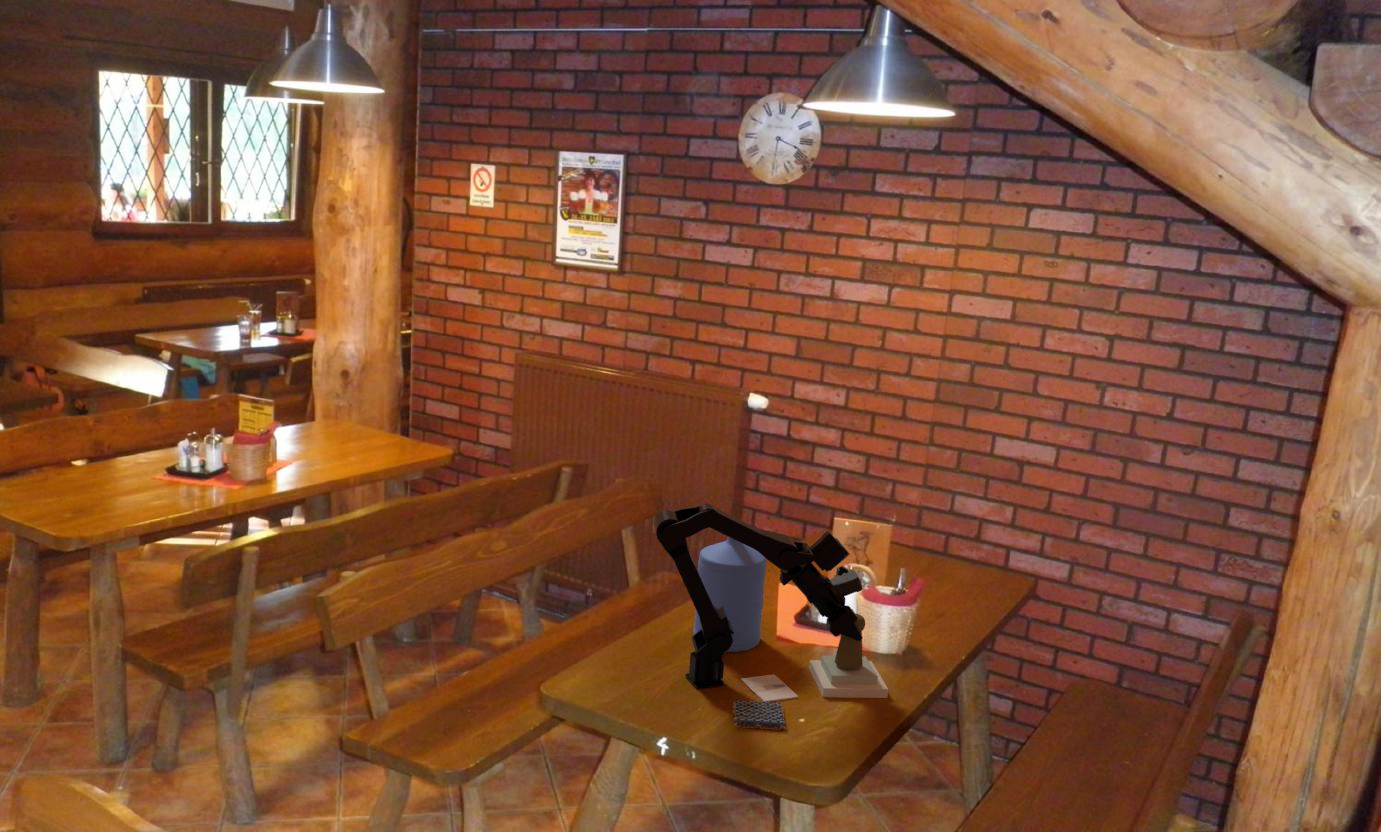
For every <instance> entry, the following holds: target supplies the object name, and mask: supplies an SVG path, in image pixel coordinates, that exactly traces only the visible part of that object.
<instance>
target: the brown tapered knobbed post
mask: <svg viewBox="0 0 1381 832" xmlns="http://www.w3.org/2000/svg"><path fill="white" fill-rule="evenodd" d="M854 613H855V614H856V616H857V617H858V619H857V621H856V622H854V624H855V625H856V627H857V629H858V631H859V632H860V634H861V636H862V637H863V631H864V630H865V627H866V620H865V618H864V616H863V615H862V614H860V613H857V612H854ZM839 638H840V639H839V643H838V647H837V651H836V655H835V656H836V657H835V663H836V664H837V665H838V666H840V667H843V668H848V669H857V668H860V667H862V665H863V661H862V656H863V639H862V640H860V641H857V640H854V639H852V638H849V637H847V636H844V635H842V634H840V637H839Z"/></svg>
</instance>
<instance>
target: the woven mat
mask: <svg viewBox="0 0 1381 832" xmlns="http://www.w3.org/2000/svg"><path fill="white" fill-rule="evenodd" d="M732 702H733V703H732V713H733V714H734V718H733V719H732V720H733V721H734V722H733V726H734V727H736V728H744V729H745V728H746V729H747V728H749V729H758V730H759V729H762V730H763V729H764V730H778V731H779V730H781V731H785V730H787V727H786V726H785V725H786V720H785V714H784V709H783V704H781V702H777V701H771V702H768V701H767V702H763V701H762V700H761V699H760V700H758V701H757V700H755V701H754V699H751V700H746V699H742V700H741V699H740V700H739V701H738V698H735V700H734V701H732Z"/></svg>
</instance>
